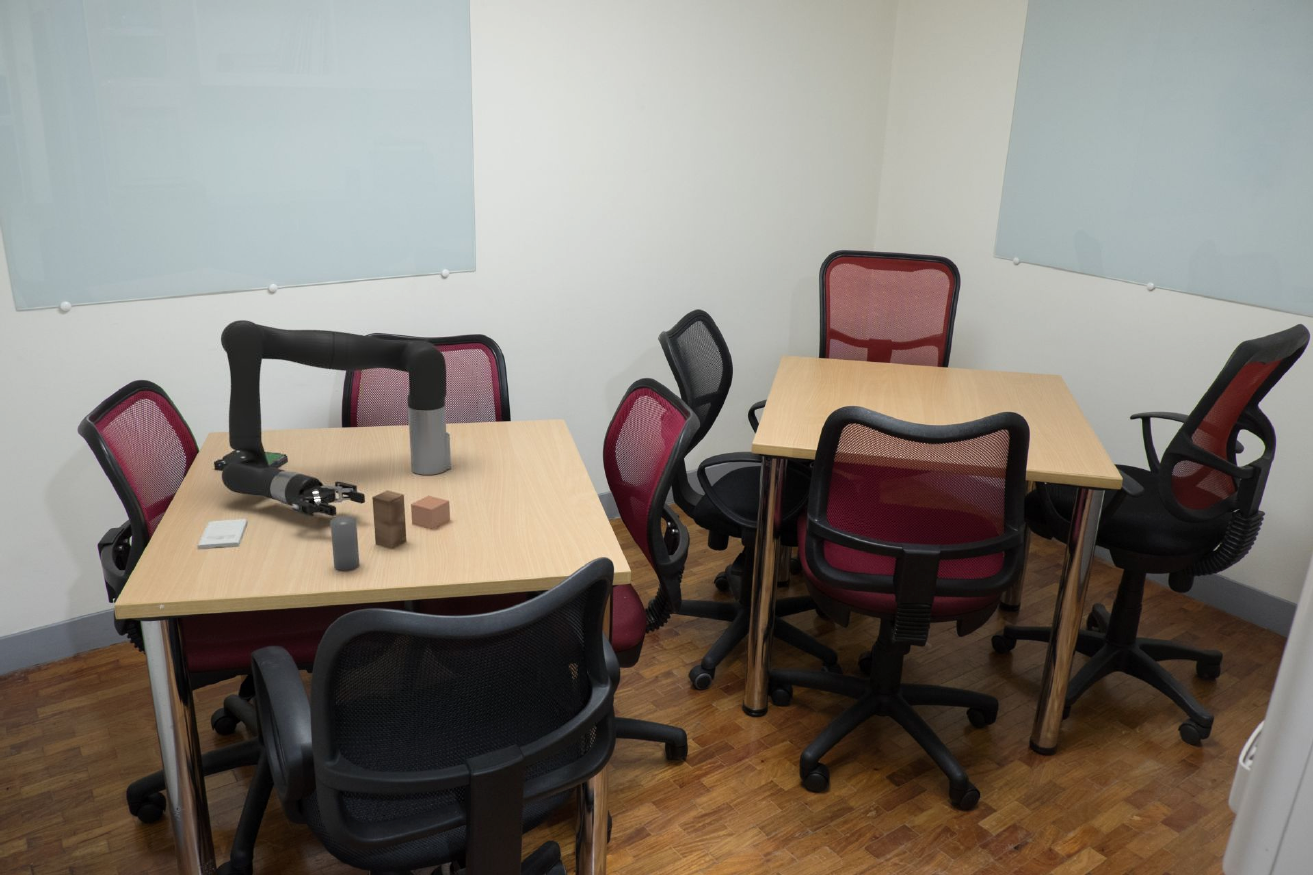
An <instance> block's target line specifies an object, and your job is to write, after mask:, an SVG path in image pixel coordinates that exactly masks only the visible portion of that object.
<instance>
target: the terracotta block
mask: <svg viewBox="0 0 1313 875" xmlns="http://www.w3.org/2000/svg"><path fill="white" fill-rule="evenodd" d="M450 510H451V508H450V500H449V499H444V498H440V497H435V496H432V495H427V496H424V497H423V498H420V499H419V500H417V501H415V502H413V503H411V504H410V511H411V514H410V515H411V524H412V525H415V526H418V527H421V528H424V529H428V528H430V529H429V530H433V531H434V530H435V529H437V528H439V527H441V526H442V524H443V525H445V524H446V522H447V523H448V522H450V521H451V511H450ZM444 523H445V524H444ZM440 525H441V526H440ZM438 526H439V527H438ZM436 527H437V528H436ZM434 528H435V529H434Z"/></svg>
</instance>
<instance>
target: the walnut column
mask: <svg viewBox="0 0 1313 875" xmlns="http://www.w3.org/2000/svg"><path fill="white" fill-rule="evenodd" d="M371 498H372V511H373V514H372V515H373V527H374V539H375V540H374V541H375V545H376V546H380V547H382V548H383V547H384V548H387V549H390V550H393V549H395V548H396V547H398V546H401V545H403V544H405V543H407V525H406V508H405V494H403V493H399V492H395V491H392V490H384V491H383V492H381V493H378V494H376V495H374V496H372V497H371Z"/></svg>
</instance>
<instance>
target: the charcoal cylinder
mask: <svg viewBox="0 0 1313 875" xmlns="http://www.w3.org/2000/svg"><path fill="white" fill-rule="evenodd" d="M329 522H330V533H331V534H330V535H331V545H332V556H333V558H332V559H333V567H334V569H335V570H336V571H339V572H349V571H354V570H355V569H357V568H359V567H360V553H359V542H358V540H359V538H358V526H357V519H356V517H353V516H349V515H343V516H341V515H340V516H337V517H334V518H332V519H331V520H330V521H329Z"/></svg>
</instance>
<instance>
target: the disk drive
mask: <svg viewBox="0 0 1313 875" xmlns="http://www.w3.org/2000/svg"><path fill="white" fill-rule="evenodd" d="M265 454H266V458H267V461H268V464H269V468H277V469H280V468H281V467H282V466H284V465H285V464H286V463H288V462H289V459H288V455H287V454H286V453H281V452H271V451H265ZM245 460H246V458H245V455H244V453H243V451H238V450H234V449H233V451H231V452H228V454H225V455H223V456H222V458H221V459H219V458H218V459H217V460H215V461H213V467H214V471H221V472H222V471H223V469H224V468H225V467H226V466H227V465H228V464H230V463H232V462H237V461H245Z"/></svg>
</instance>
